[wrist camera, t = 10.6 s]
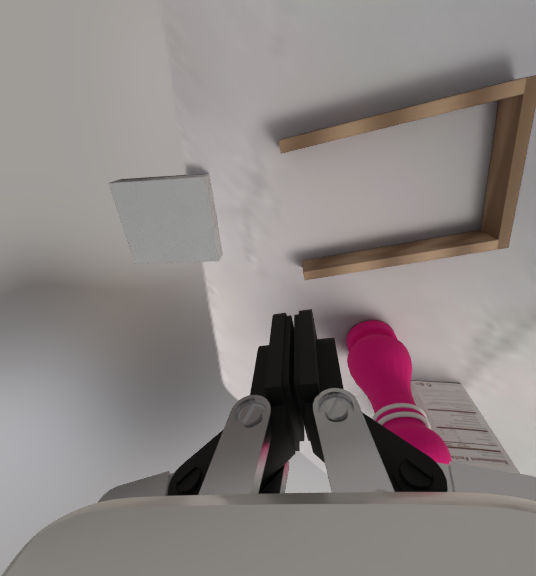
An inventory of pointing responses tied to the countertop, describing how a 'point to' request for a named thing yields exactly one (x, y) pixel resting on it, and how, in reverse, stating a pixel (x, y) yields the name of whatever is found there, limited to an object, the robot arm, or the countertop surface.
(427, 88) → the countertop surface
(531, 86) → the wooden u-shaped frame
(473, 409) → the supplement box
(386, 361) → the pepper mill
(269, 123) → the countertop surface
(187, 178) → the cover plate
